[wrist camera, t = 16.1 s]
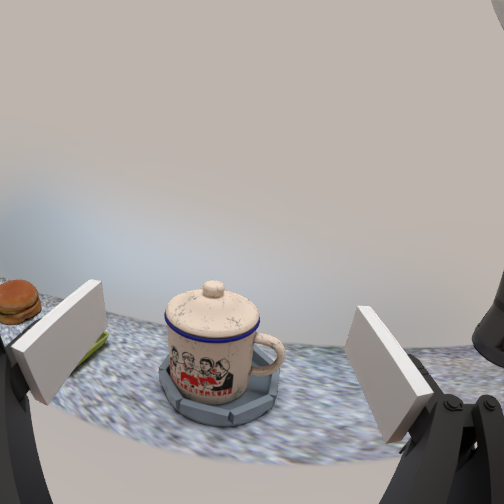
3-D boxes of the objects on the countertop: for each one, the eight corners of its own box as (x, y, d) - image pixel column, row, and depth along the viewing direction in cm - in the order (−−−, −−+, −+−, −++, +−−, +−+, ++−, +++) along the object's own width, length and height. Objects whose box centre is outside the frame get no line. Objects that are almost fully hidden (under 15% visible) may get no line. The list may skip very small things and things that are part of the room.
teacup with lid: (154, 391, 24) (144, 291, 21) (188, 347, 33) (189, 261, 30) (269, 424, 22) (291, 324, 19) (281, 369, 31) (299, 280, 28)
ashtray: (279, 362, 33) (282, 348, 33) (268, 437, 21) (271, 424, 21) (187, 343, 35) (187, 329, 34) (145, 405, 23) (142, 390, 22)
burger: (50, 303, 37) (45, 278, 35) (24, 331, 28) (16, 303, 27) (13, 296, 35) (8, 273, 34) (-14, 319, 26) (-21, 293, 25)
